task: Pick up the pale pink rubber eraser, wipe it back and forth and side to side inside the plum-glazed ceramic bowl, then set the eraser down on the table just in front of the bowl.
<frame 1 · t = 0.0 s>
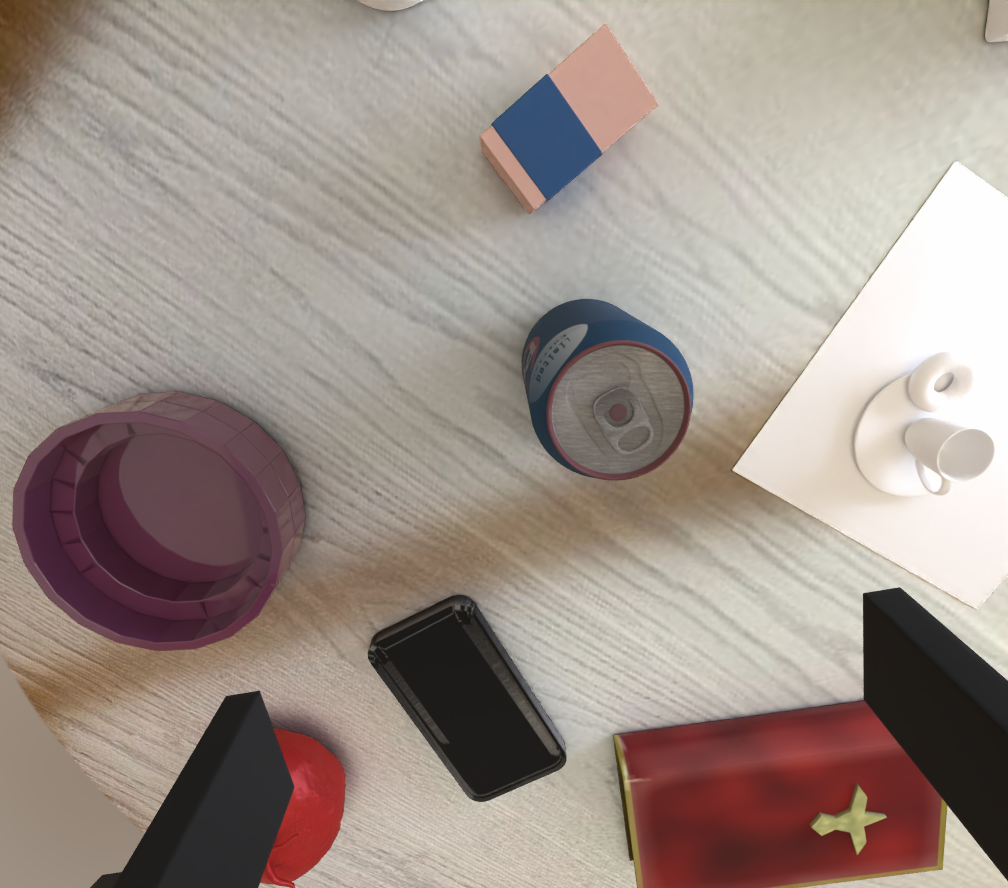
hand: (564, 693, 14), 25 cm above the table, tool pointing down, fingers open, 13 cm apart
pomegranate: (285, 761, 45), on the table
bowl: (190, 502, 39), on the table
soda can: (580, 357, 37), on the table
teacup and saucer: (965, 409, 38), on the table
eraser: (558, 137, 33), on the table
hardcover book: (763, 774, 46), on the table
phone: (470, 696, 44), on the table
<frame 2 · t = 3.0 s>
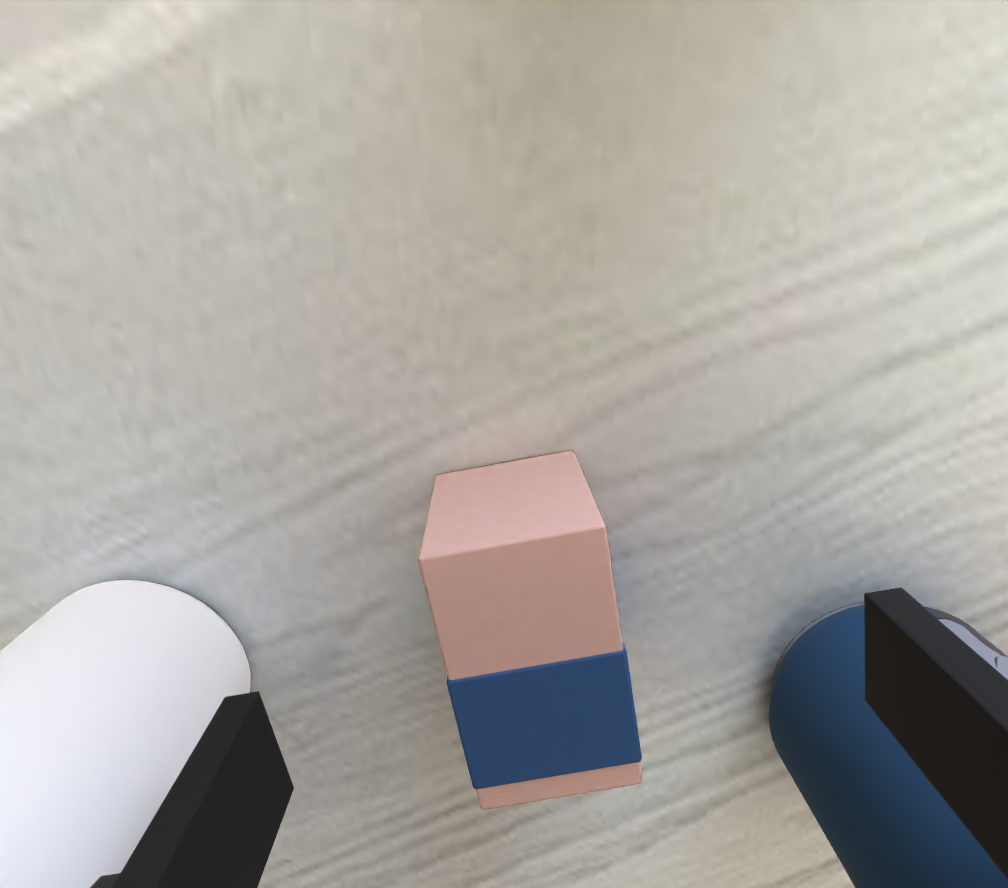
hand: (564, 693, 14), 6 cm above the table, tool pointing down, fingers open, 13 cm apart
can: (154, 659, 20), on the table, touching gripper
soda can: (854, 672, 21), on the table
eraser: (524, 569, 19), on the table
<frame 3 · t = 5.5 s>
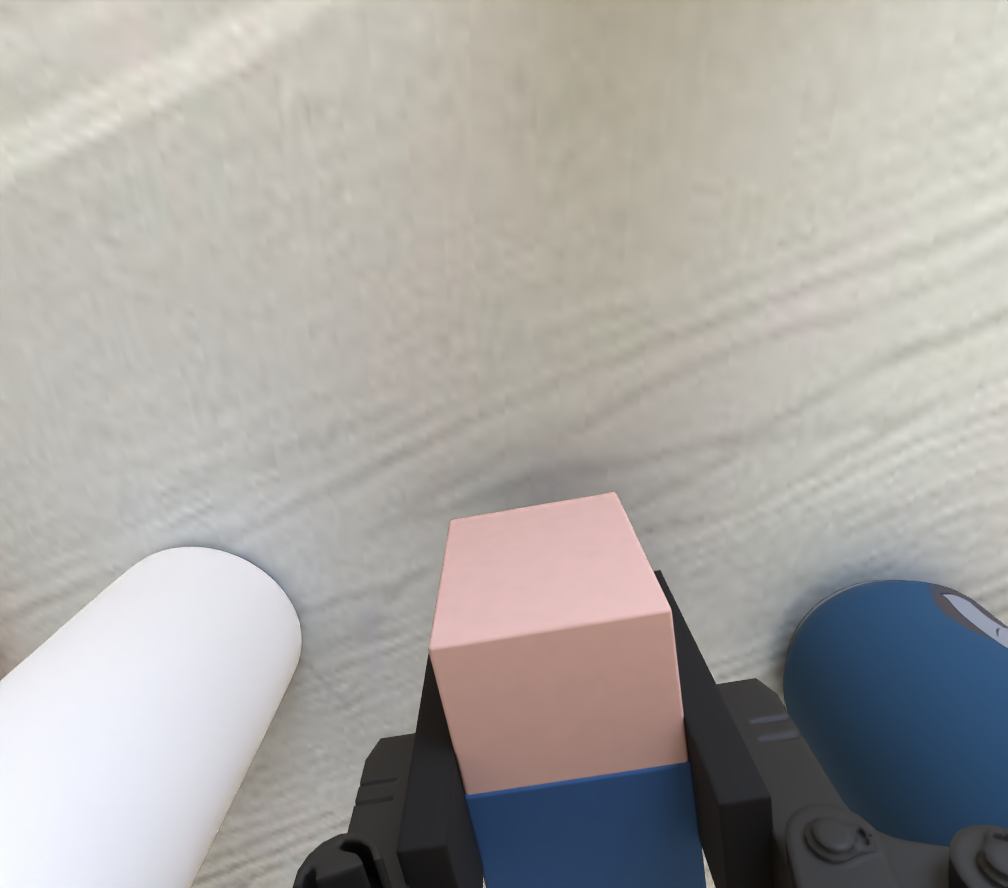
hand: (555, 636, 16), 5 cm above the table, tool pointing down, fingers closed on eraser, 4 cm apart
can: (214, 621, 22), on the table
soda can: (866, 647, 22), on the table
eraser: (554, 630, 16), point 5 cm above the table, touching gripper
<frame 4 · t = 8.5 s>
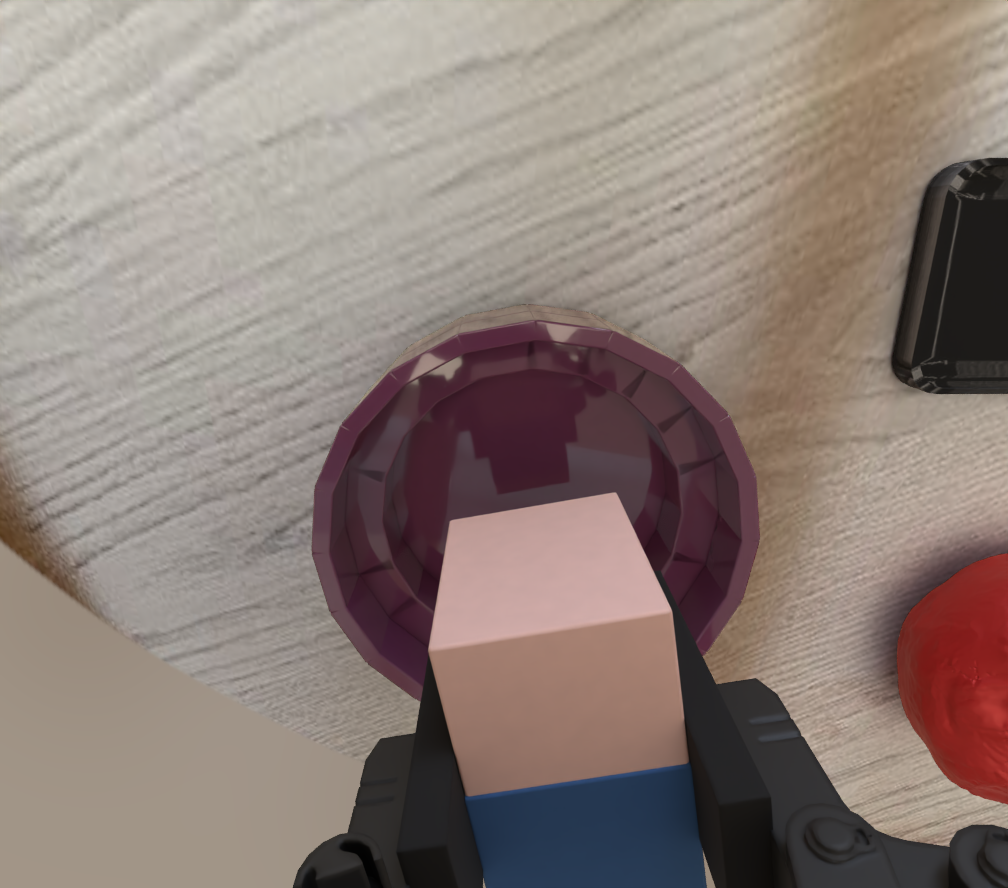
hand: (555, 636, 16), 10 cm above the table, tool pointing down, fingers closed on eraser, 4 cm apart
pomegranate: (973, 624, 28), on the table
bowl: (528, 487, 25), on the table
eraser: (555, 630, 16), point 9 cm above the table, touching gripper
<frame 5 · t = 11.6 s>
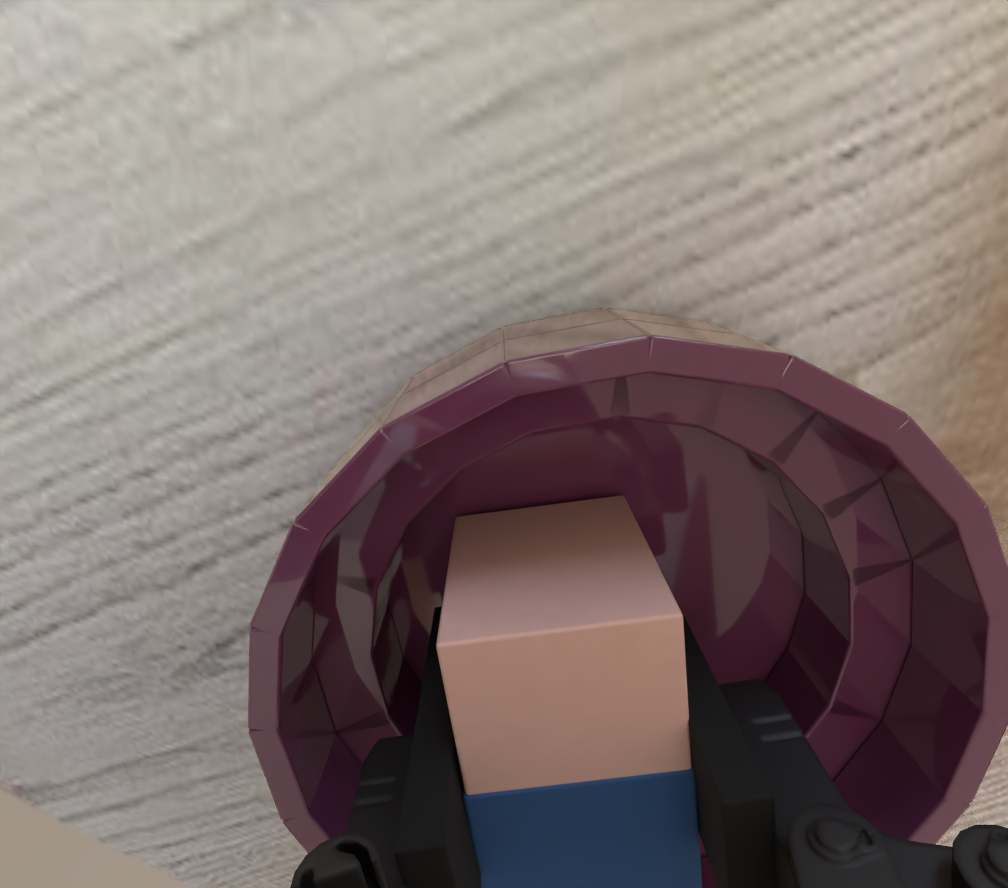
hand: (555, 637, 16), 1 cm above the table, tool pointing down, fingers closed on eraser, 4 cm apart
bowl: (593, 584, 17), on the table
eraser: (555, 632, 16), point 1 cm above the table, touching bowl, gripper
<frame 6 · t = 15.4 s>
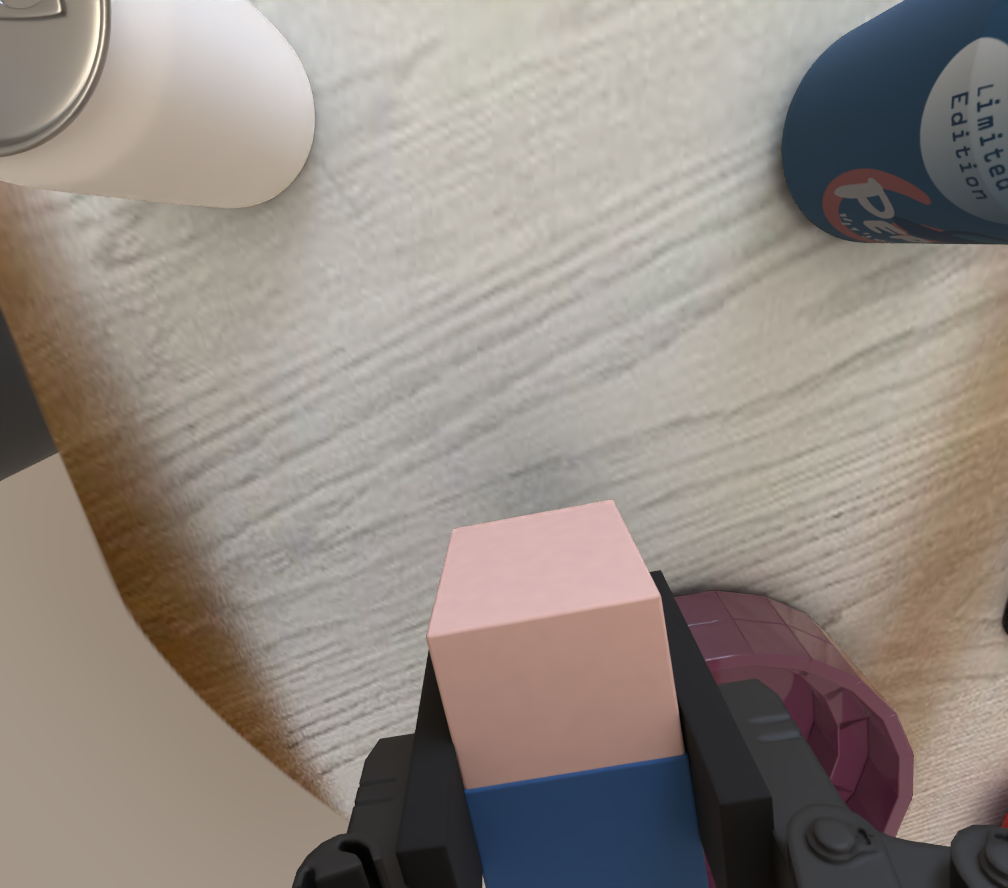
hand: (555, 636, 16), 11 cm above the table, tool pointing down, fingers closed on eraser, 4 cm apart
bowl: (698, 714, 30), on the table
can: (228, 112, 22), on the table
soda can: (860, 141, 23), on the table
eraser: (557, 640, 16), point 11 cm above the table, touching gripper
when the fingers open (0 cm above the table, at t = 18.2 s): eraser stays where it is, on the table.
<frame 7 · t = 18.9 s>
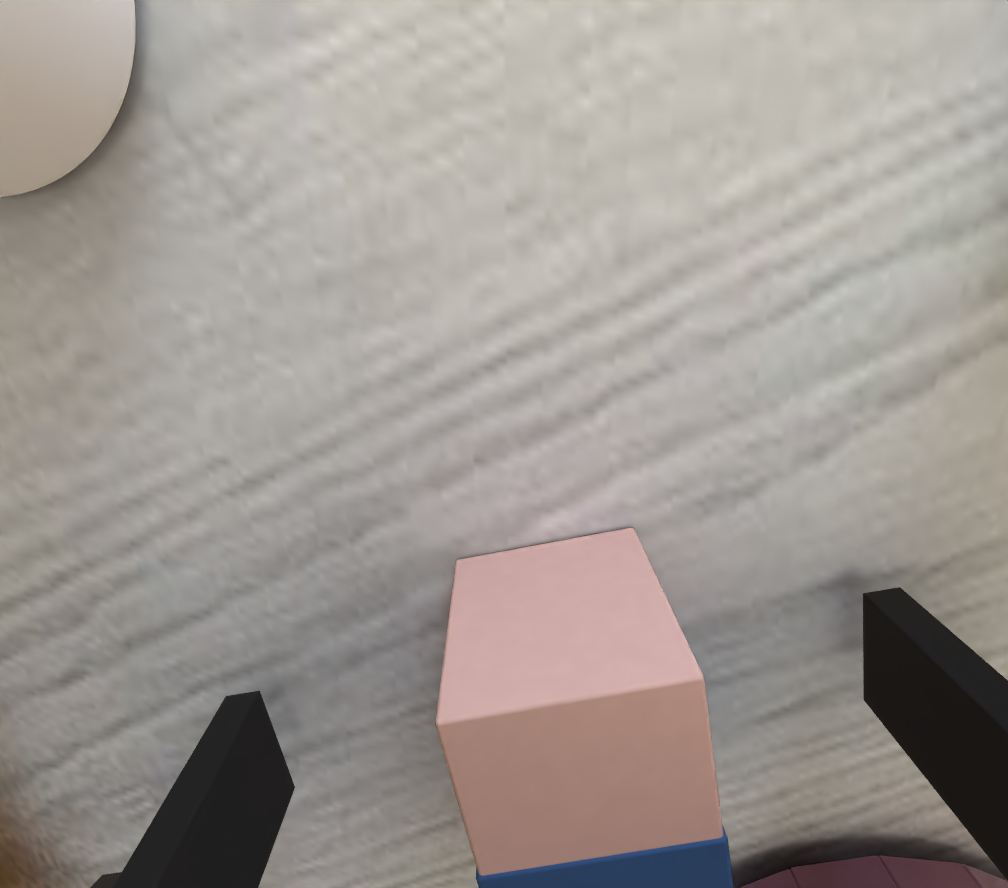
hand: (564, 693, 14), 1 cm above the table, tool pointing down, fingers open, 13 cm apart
eraser: (570, 672, 15), on the table
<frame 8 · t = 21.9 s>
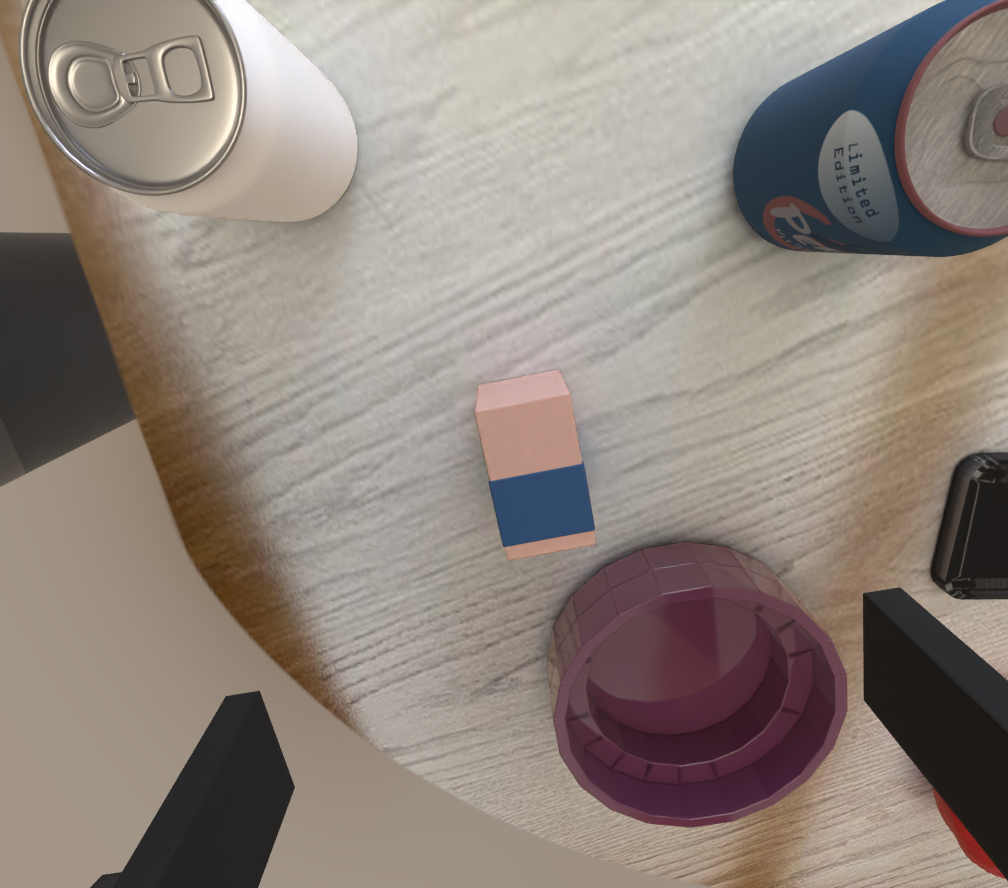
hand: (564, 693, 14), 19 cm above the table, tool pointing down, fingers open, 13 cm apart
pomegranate: (987, 741, 38), on the table
bowl: (673, 651, 36), on the table
can: (286, 144, 27), on the table
soda can: (799, 168, 28), on the table
eraser: (531, 444, 32), on the table
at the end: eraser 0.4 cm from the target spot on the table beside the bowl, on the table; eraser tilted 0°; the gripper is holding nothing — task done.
